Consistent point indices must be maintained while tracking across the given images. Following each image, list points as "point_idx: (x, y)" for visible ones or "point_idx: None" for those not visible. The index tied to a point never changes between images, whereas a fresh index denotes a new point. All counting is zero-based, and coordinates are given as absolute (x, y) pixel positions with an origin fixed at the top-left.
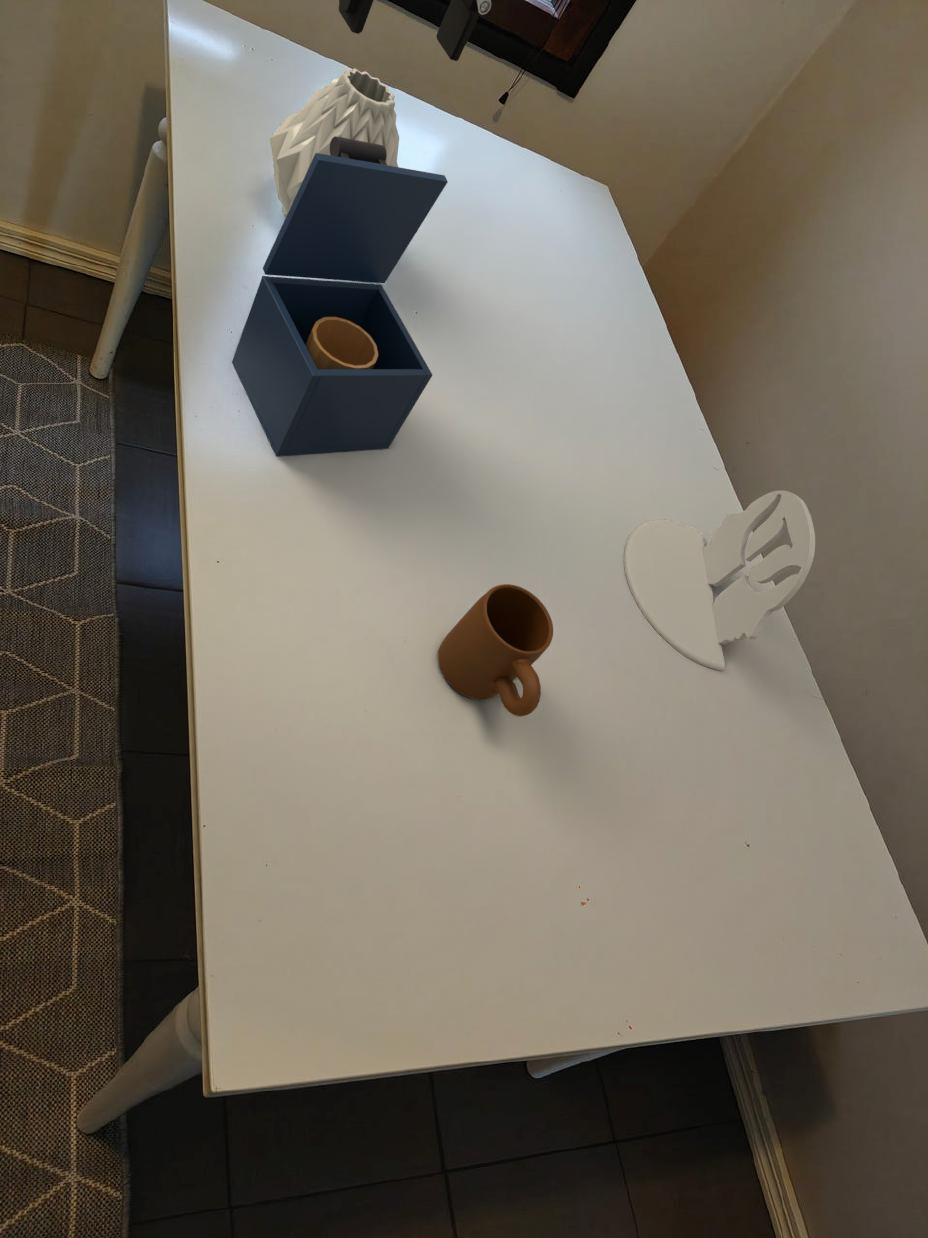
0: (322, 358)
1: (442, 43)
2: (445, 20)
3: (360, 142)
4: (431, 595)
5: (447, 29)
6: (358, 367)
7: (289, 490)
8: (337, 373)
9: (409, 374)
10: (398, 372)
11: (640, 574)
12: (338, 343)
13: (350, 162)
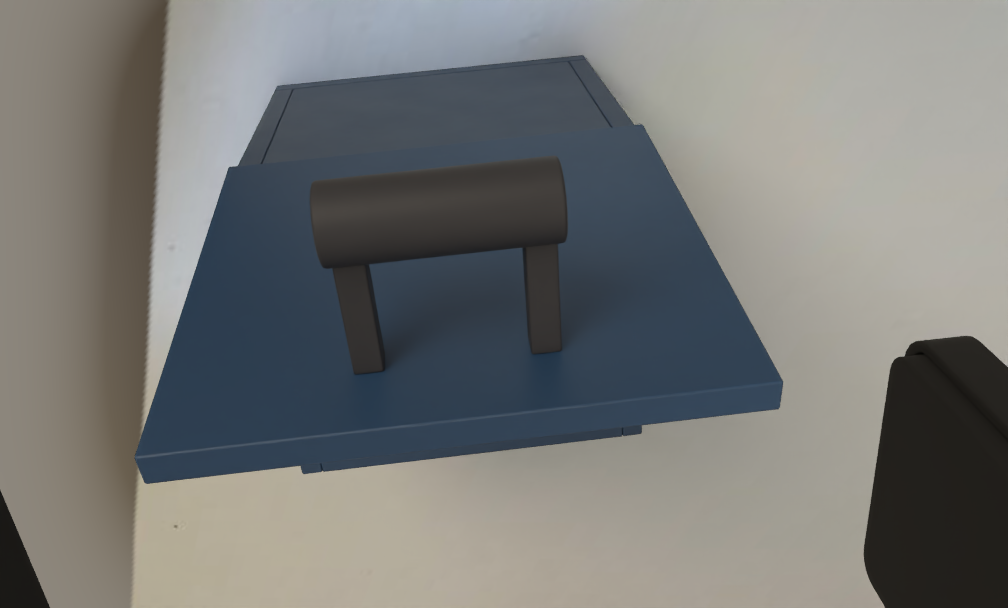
0: None
1: (883, 459)
2: (974, 472)
3: (433, 229)
4: (537, 580)
5: (943, 513)
6: None
7: None
8: (368, 460)
9: (571, 441)
10: (541, 439)
11: None
12: None
13: (295, 453)
